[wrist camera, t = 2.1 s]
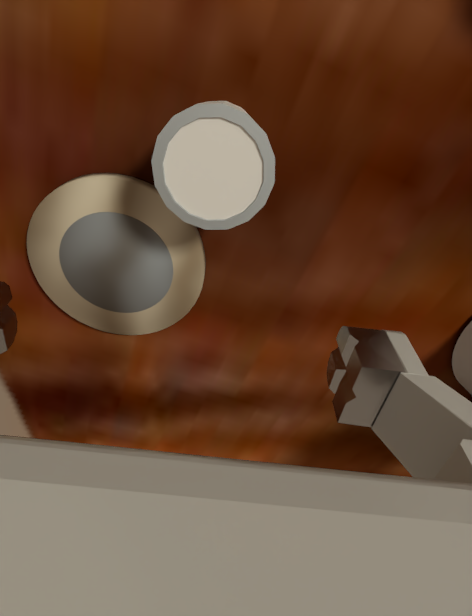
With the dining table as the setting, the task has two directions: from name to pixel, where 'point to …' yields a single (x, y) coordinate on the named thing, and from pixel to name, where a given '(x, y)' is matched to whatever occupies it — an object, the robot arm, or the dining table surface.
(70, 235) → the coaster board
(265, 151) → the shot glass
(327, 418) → the dining table surface
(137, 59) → the dining table surface
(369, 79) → the dining table surface
